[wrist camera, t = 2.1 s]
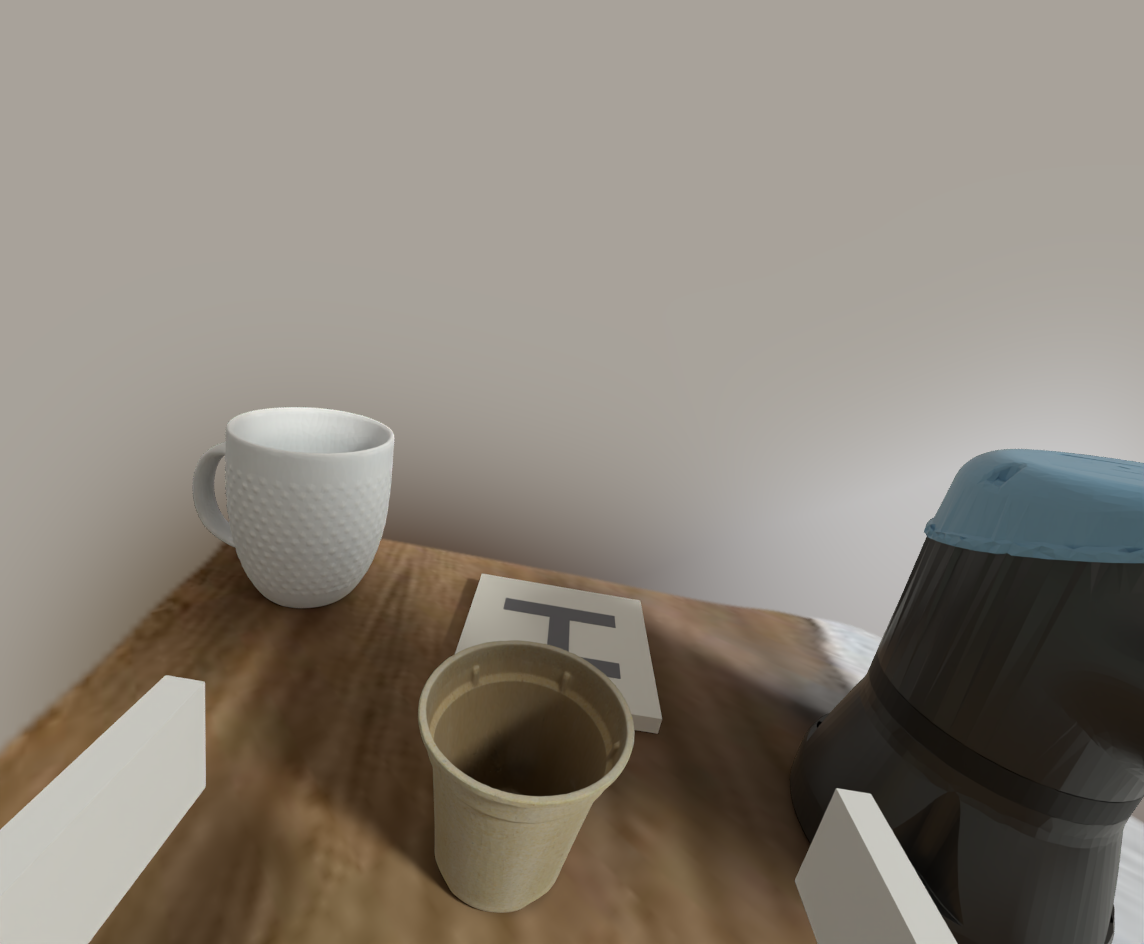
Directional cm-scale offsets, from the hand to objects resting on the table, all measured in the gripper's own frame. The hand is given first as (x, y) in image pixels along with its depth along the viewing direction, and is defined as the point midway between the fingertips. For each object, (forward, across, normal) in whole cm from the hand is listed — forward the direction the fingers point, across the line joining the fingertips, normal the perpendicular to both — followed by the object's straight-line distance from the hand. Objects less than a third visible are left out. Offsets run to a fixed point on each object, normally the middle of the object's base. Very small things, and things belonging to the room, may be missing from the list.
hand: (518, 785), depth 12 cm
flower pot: (+11, +1, -16) cm, 20 cm away
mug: (+30, -18, -16) cm, 39 cm away
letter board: (+27, +3, -16) cm, 32 cm away
